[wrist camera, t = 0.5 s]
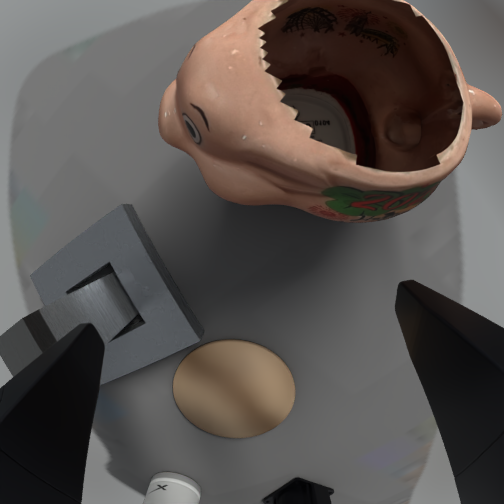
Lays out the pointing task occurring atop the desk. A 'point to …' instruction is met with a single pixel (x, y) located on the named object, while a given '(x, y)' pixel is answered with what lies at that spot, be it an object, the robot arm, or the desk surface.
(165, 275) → the grey flat square frame
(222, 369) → the walnut coaster
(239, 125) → the decorative planter
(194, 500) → the travel mug
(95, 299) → the grey square bar
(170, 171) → the desk surface
